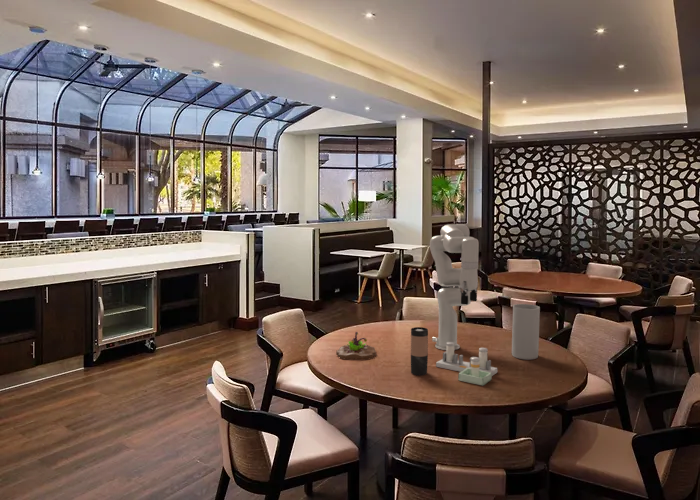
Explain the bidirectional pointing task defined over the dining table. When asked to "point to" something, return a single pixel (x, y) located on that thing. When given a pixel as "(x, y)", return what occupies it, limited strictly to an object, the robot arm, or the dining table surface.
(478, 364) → the fuse marked
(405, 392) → the dining table surface
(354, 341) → the plant
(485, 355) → the fuse right
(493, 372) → the holder
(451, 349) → the cylinder
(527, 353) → the cylinder vase
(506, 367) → the dining table surface
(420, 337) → the travel mug
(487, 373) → the tray
